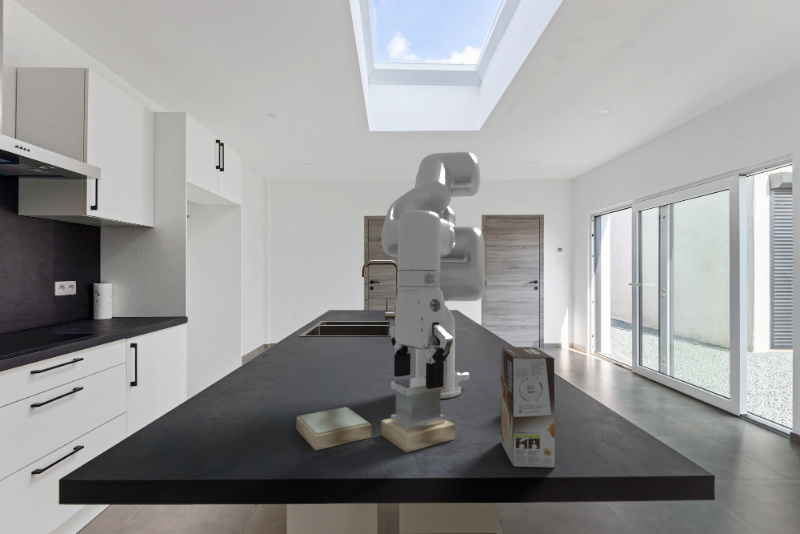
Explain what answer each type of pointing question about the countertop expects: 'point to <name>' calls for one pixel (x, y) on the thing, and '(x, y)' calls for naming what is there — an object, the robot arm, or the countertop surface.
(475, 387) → the countertop surface
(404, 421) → the housing
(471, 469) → the countertop surface
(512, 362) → the coffee box
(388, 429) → the beige piece
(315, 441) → the stand
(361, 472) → the countertop surface
